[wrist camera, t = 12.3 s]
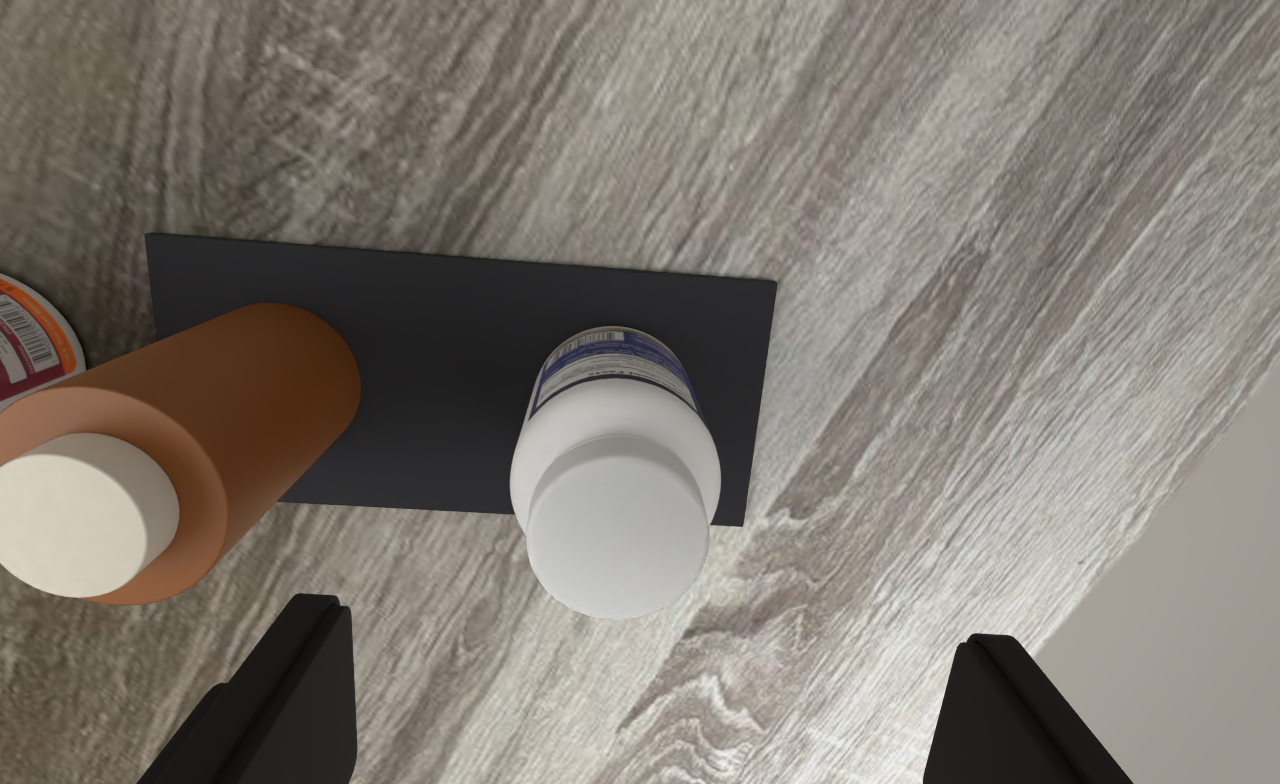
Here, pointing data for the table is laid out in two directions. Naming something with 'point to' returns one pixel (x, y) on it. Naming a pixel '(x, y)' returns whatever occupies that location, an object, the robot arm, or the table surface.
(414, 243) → the table surface
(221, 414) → the amber bottle
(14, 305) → the pill bottle
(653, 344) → the pill bottle
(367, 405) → the plate
